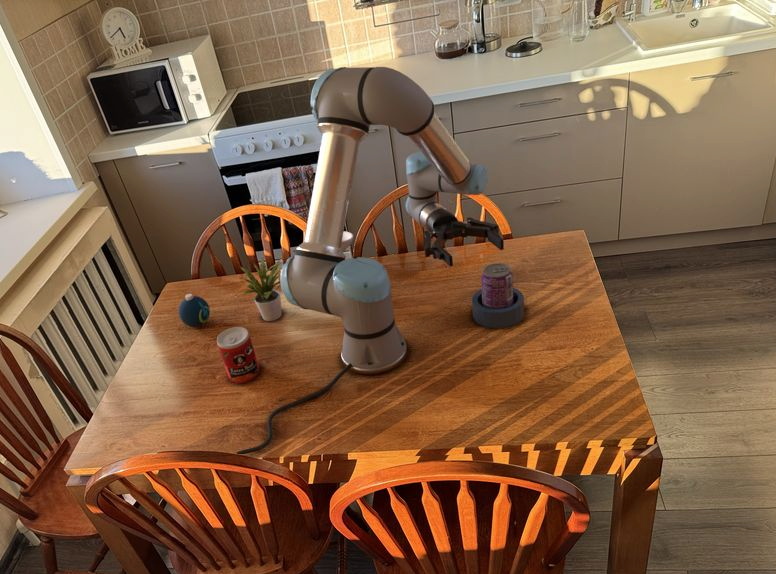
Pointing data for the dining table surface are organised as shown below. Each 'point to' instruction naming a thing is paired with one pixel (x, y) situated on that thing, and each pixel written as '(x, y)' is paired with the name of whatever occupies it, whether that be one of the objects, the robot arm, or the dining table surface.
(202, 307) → the christmas ornament
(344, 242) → the spoon rest
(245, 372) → the canned food
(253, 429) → the dining table surface
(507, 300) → the beverage can
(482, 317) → the dark grey bowl
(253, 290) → the house plant
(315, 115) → the robot arm
